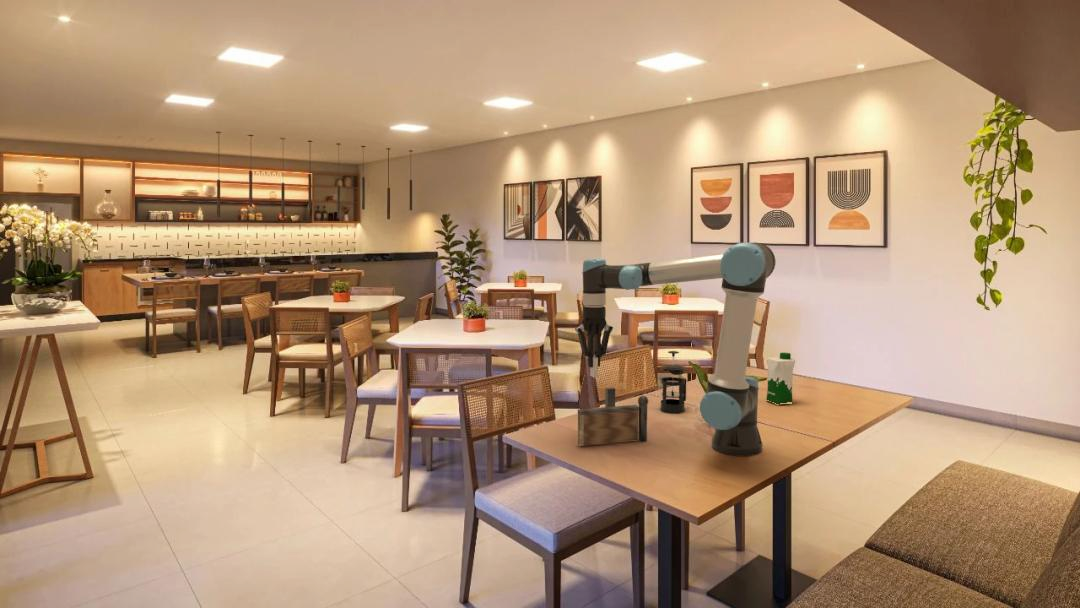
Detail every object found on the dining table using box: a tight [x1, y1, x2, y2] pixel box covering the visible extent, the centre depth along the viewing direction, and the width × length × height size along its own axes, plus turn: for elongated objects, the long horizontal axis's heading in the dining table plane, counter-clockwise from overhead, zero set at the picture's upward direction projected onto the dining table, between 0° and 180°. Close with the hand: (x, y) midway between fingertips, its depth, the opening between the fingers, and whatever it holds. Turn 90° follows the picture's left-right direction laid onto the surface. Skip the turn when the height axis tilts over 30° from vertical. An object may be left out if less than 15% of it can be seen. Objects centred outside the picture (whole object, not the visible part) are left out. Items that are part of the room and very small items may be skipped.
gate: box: [577, 404, 639, 447], centre depth 200 cm, size 20×2×11 cm, turn 105°
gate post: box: [637, 395, 649, 443], centre depth 203 cm, size 3×3×15 cm
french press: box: [659, 350, 687, 415], centre depth 238 cm, size 12×9×23 cm
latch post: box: [604, 386, 616, 407], centre depth 225 cm, size 2×3×12 cm, turn 110°
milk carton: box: [765, 352, 796, 404], centre depth 248 cm, size 9×9×20 cm
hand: (594, 376), depth 206 cm, fingers closed
